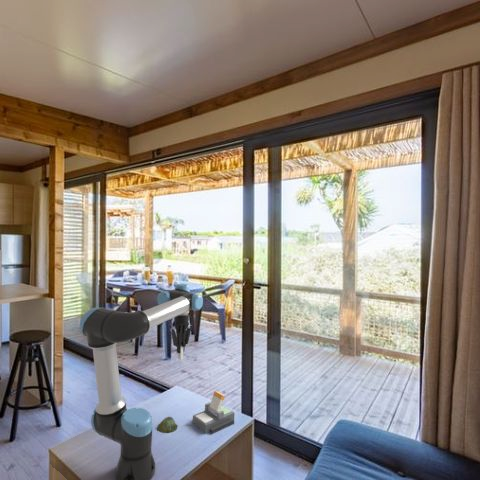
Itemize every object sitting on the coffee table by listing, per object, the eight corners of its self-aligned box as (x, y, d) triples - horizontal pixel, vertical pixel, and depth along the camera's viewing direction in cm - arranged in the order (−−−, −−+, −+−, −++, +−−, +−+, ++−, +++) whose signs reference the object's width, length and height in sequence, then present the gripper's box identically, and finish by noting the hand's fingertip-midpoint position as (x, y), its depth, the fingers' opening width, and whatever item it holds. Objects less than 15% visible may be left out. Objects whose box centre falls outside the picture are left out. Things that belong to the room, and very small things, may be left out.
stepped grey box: (206, 433, 159) (206, 418, 158) (192, 423, 167) (192, 408, 167) (234, 420, 171) (235, 406, 171) (220, 411, 179) (220, 397, 179)
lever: (216, 415, 165) (222, 395, 167) (207, 409, 171) (213, 390, 173) (219, 415, 166) (226, 396, 169) (210, 409, 172) (216, 391, 175)
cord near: (212, 434, 159) (212, 430, 159) (209, 432, 160) (209, 428, 160) (234, 423, 168) (234, 420, 168) (231, 422, 169) (231, 418, 169)
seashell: (154, 423, 159) (162, 412, 169) (153, 432, 159) (161, 420, 169) (174, 427, 157) (181, 416, 167) (174, 436, 157) (180, 424, 167)
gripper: (174, 316, 167) (173, 363, 167) (196, 313, 176) (194, 358, 176) (167, 313, 172) (165, 359, 173) (188, 310, 181) (186, 353, 181)
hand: (180, 358), depth 174 cm, fingers closed
